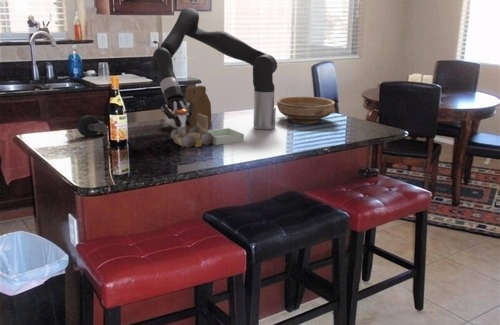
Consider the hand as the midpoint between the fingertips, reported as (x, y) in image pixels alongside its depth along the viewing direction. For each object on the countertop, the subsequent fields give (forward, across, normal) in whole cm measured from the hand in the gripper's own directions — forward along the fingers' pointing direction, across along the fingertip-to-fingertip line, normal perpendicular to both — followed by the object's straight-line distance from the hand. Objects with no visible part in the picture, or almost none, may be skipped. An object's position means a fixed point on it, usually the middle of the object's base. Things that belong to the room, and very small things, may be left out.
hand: (184, 125), depth 202 cm
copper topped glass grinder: (+2, 0, -5) cm, 5 cm away
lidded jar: (-18, -11, -29) cm, 36 cm away
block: (-9, -16, -21) cm, 28 cm away
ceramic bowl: (-6, -72, -17) cm, 74 cm away
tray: (+5, -18, -6) cm, 19 cm away
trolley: (+4, -4, -7) cm, 9 cm away
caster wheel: (-17, +27, -28) cm, 43 cm away
